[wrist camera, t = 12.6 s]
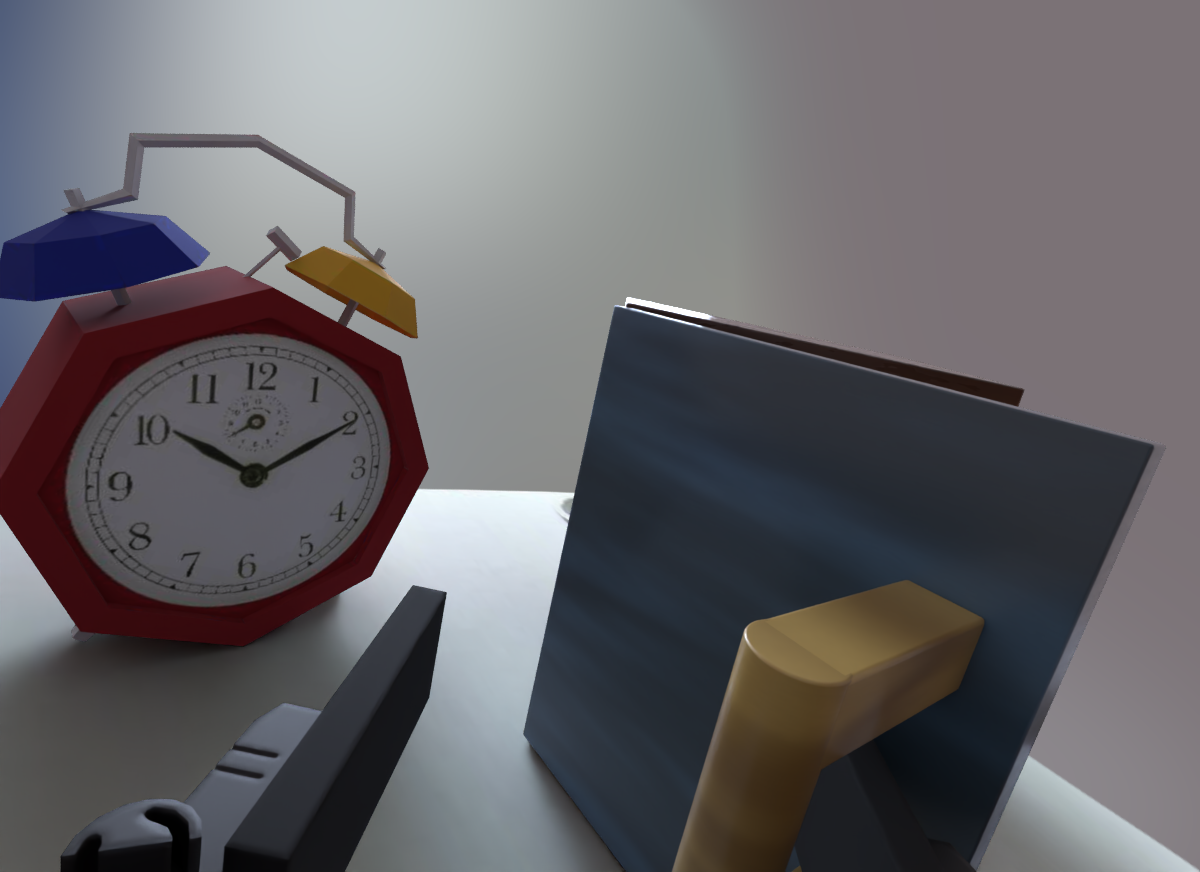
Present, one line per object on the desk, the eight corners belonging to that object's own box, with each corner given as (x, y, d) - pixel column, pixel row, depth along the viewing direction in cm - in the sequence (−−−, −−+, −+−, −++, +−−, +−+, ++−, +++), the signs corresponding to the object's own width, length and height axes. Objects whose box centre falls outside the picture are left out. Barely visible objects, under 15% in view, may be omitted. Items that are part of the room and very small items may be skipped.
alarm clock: (-5, 710, 20) (-23, 39, 16) (-14, 585, 26) (-29, 66, 21) (409, 609, 31) (473, 190, 26) (339, 536, 37) (381, 182, 32)
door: (648, 1413, 10) (1029, 441, 6) (371, 785, 20) (447, 272, 17) (862, 1126, 14) (1168, 444, 10) (543, 727, 25) (637, 309, 21)
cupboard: (871, 793, 25) (1025, 389, 21) (535, 720, 25) (626, 302, 21) (799, 642, 36) (893, 355, 32) (563, 591, 36) (627, 297, 32)
